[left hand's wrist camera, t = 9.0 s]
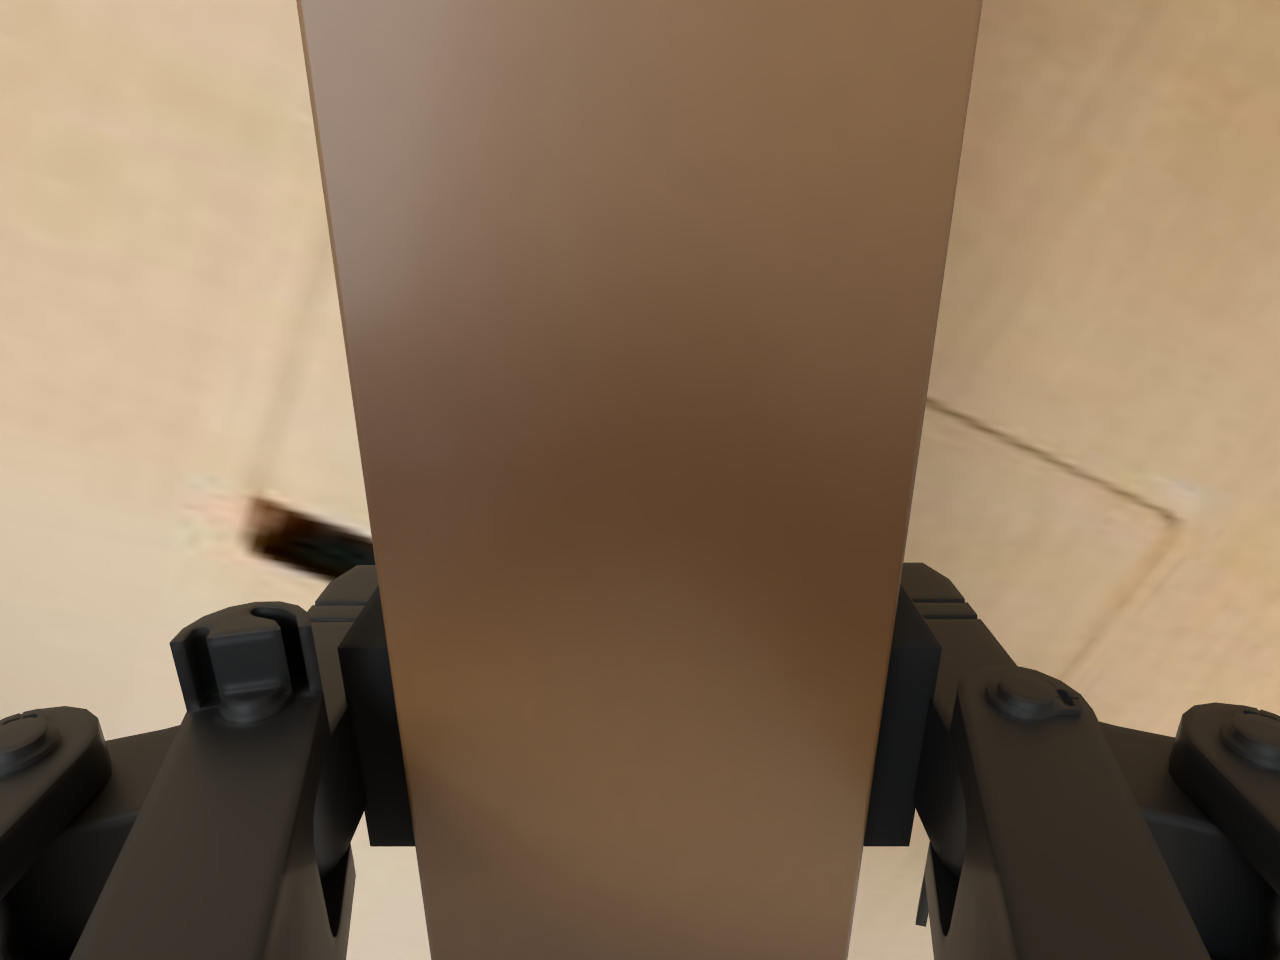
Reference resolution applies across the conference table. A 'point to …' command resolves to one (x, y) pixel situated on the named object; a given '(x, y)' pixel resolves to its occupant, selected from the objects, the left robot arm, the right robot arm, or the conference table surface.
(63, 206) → the conference table surface
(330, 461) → the conference table surface
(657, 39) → the bar
